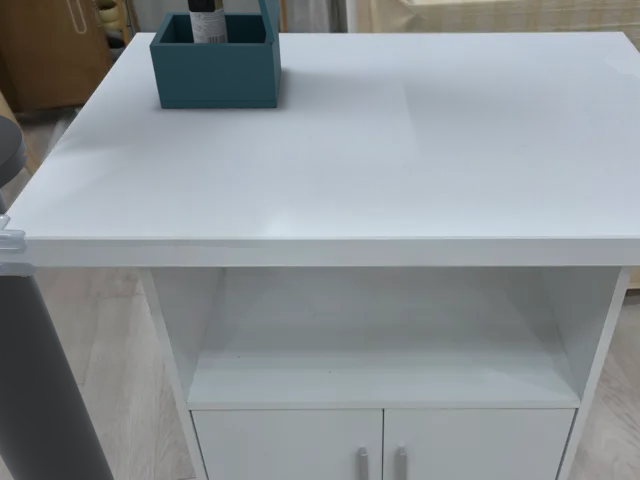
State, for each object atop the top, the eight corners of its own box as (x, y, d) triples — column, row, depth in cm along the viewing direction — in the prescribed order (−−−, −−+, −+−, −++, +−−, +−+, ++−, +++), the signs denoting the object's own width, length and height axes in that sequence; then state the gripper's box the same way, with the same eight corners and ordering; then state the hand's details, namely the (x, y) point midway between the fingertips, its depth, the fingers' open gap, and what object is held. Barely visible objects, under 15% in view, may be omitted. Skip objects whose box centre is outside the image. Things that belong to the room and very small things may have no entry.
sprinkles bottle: (229, 64, 94) (216, -43, 85) (234, 76, 90) (221, -34, 81) (196, 67, 92) (179, -41, 84) (199, 80, 89) (183, -32, 80)
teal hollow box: (161, 108, 88) (148, 45, 82) (177, 70, 97) (167, 12, 92) (276, 108, 89) (272, 45, 83) (281, 70, 98) (277, 12, 93)
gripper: (160, -181, 80) (185, -15, 92) (130, -164, 67) (163, 27, 79) (224, -180, 80) (241, -14, 92) (206, -162, 68) (228, 27, 80)
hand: (205, 3), depth 86 cm, fingers closed on sprinkles bottle, 4 cm apart
